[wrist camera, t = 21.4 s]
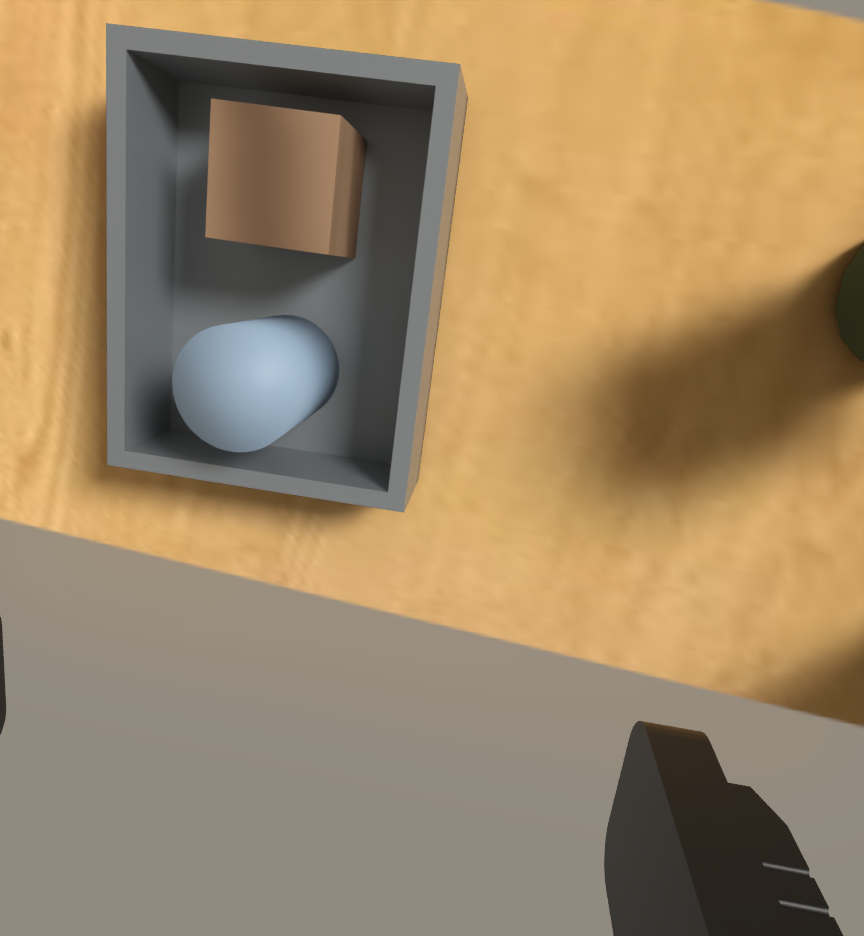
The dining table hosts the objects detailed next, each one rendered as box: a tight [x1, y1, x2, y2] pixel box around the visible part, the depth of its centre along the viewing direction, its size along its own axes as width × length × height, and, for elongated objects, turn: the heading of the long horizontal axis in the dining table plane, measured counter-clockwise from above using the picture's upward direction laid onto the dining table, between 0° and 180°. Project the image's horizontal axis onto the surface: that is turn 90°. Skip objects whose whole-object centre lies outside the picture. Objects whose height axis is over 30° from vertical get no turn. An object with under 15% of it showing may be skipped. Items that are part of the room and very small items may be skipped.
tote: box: [106, 23, 468, 512], centre depth 31 cm, size 14×18×5 cm
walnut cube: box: [205, 98, 367, 258], centre depth 29 cm, size 5×5×5 cm
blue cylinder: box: [172, 315, 339, 452], centre depth 30 cm, size 5×5×7 cm
